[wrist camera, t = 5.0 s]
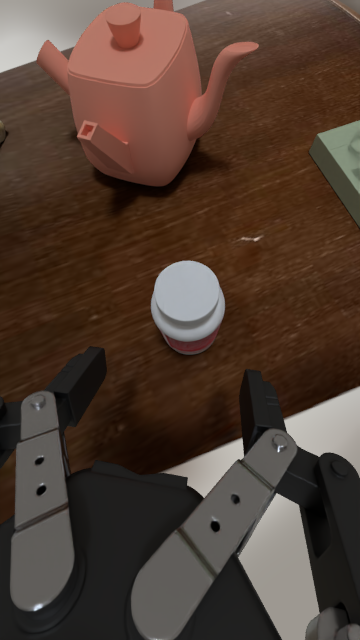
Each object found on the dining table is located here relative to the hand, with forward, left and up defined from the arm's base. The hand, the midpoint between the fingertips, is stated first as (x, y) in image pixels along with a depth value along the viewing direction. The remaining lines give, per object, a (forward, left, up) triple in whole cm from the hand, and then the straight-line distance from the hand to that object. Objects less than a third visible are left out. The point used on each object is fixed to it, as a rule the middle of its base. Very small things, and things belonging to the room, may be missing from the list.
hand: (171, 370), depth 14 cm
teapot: (+32, -7, -13) cm, 35 cm away
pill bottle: (+5, -3, -13) cm, 14 cm away
